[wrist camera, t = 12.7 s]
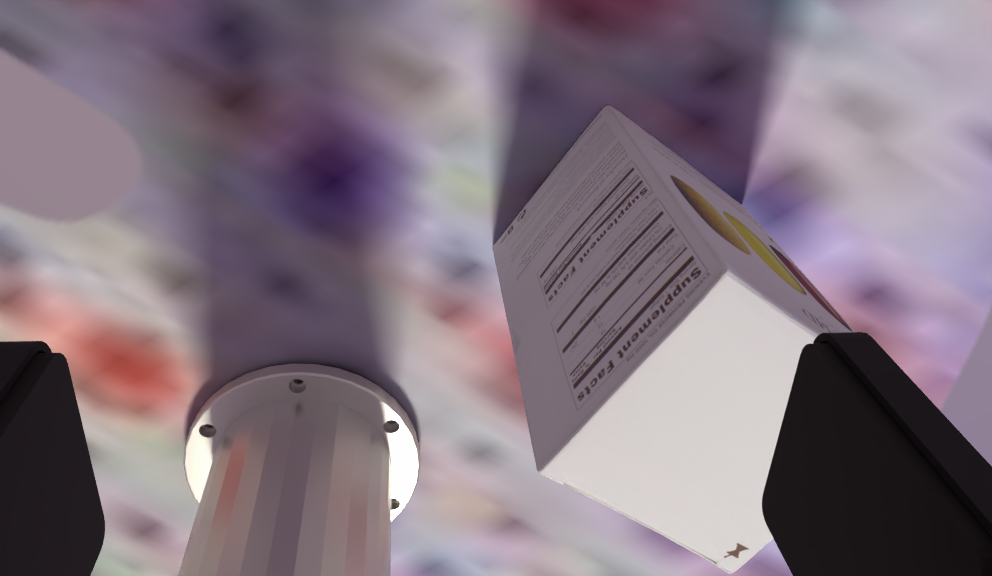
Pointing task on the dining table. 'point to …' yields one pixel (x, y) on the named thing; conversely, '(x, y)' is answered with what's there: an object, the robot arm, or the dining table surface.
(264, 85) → the dining table surface
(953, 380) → the dining table surface
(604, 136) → the supplement box
